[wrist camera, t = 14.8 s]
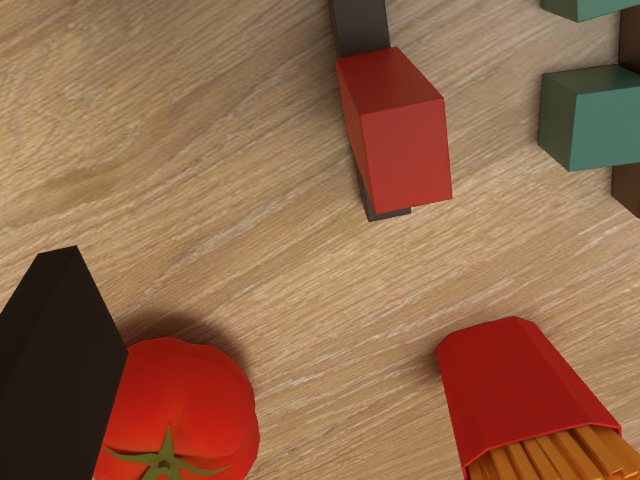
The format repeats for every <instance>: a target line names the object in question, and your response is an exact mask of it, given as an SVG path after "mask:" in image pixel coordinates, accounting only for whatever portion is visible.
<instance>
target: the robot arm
mask: <svg viewBox="0 0 640 480" xmlns="http://www.w3.org/2000/svg"><path fill="white" fill-rule="evenodd" d="M128 354H129V352H128V350H127V348H126V346H125V344H124V342H123V340H122V338H121V336H120V334H119V332H118V329H117V327H116V325H115V323H114V321H113V319H112V317H111V315H110V313H109V311H108V309H107V307H106V305H105V303H104V301H103V299H102V297H101V294H100V292H99V290H98V288H97V286H96V284H95V282H94V280H93V278H92V276H91V274H90V272H89V270H88V268H87V266H86V264H85V262H84V260H83V257H82V255H81V253H80V251H79V249H78V247H77V245H75V246H70V247H66V248H61V249H57V250H52V251H48V252H43V253H39V254H37V256H36V258H35V259H34V261H33V262H32V264H31V266H30V267H29V269H28V270H27V272H26V274H25V275H24V277H23V278H22V280H21V282H20V283H19V285H18V287H17V288H16V290H15V291H14V293H13V295H12V296H11V298H10V299H9V301H8V303H7V304H6V306H5V307H4V309H3V311H2V312H1V314H0V480H92V477H93V473H94V470H95V466H96V463H97V460H98V456H99V453H100V449H101V446H102V443H103V439H104V436H105V432H106V429H107V425H108V422H109V419H110V415H111V412H112V408H113V405H114V402H115V398H116V395H117V391H118V388H119V385H120V381H121V378H122V374H123V371H124V368H125V364H126V361H127V357H128Z"/></svg>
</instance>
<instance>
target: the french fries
mask: <svg viewBox="0 0 640 480" xmlns="http://www.w3.org/2000/svg"><path fill="white" fill-rule="evenodd" d="M436 354H437V358H438V363H439V367H440V372H441V376H442V381H443V385H444V390H445V395H446V399H447V404H448V408H449V413H450V417H451V422H452V426H453V431H454V435H455V440H456V444H457V449H458V453H459V458H460V462H461V467H462V471H463V475H464V480H640V454H639V453H638V452H637V451H635V450H634V449H633V448H632V447H631V446H630V445H629V444H628V443H627V442H626V441H625V440H624V439H622V434H621V426H620V425H619V424H618V422H617V421H616V420H615V419H614V418H613V416H612V415H611V414H610V413H609V412H608V411H607V409H606V408H605V407H604V406H603V405H602V403H601V402H600V401H599V400H598V399H597V397H596V396H595V395H594V394H593V393H592V391H591V390H590V389H589V388H588V387H587V386H586V384H585V383H584V382H583V381H582V380H581V378H580V377H579V376H578V375H577V374H576V372H575V371H574V370H573V369H572V368H571V366H570V365H569V364H568V363H567V362H566V361H565V359H564V358H563V357H562V356H561V355H560V353H559V352H558V351H557V350H556V349H555V347H554V346H553V345H552V344H551V343H550V342H549V340H548V339H547V338H546V337H545V336H544V334H543V333H542V332H541V331H540V330H539V328H538V327H537V326H536V325H535V324H534V323H533V322H530V321H527V320H524V319H521V318H518V317H515V316H514V317H510V318H506V319H501V320H497V321H493V322H489V323H485V324H481V325H478V326H474V327H471V328H467V329H464V330H461V331H457V332H454V333H451V334H450V335H449V336H448V337H447V338H446V339H445V340H444V341H443V342H442V343H441V344H440V345H439V346H438V347H437V348H436Z"/></svg>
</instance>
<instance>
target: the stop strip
mask: <svg viewBox="0 0 640 480" xmlns="http://www.w3.org/2000/svg"><path fill="white" fill-rule="evenodd" d="M619 66H621V67H623V68H625V69H627V70H629V71H631V72H634V73H636V74H638V75H640V4H639V5H636V6H632V7H629V8H626V9H622V11H621V30H620V49H619ZM612 197H613V198H615V199H616V200H617V201H618V202H619V203H621V204H622V205H623V206H624V207H625V208H626V209H628V210H629V211H630V212H631V213H632V214H634V215H635V216H636V217H637V218H640V162H638V163H630V164H623V165H616V166H613V181H612Z"/></svg>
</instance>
